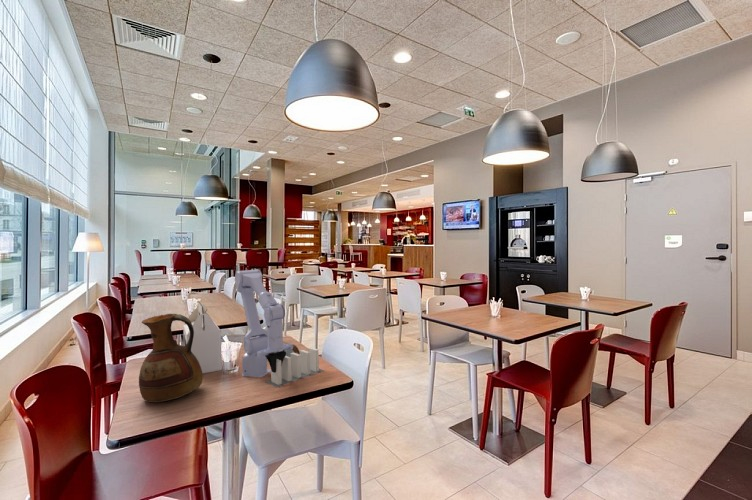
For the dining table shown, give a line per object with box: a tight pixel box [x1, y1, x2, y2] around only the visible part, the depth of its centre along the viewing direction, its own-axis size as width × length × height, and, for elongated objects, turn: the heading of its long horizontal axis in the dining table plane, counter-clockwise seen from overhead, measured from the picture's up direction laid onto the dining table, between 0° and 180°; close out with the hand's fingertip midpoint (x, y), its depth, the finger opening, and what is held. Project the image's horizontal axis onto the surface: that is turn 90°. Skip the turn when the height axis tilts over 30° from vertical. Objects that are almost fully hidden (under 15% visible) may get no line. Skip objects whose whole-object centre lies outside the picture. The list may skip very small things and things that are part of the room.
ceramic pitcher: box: [138, 313, 204, 403], centre depth 131 cm, size 20×20×30 cm
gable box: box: [182, 301, 223, 374], centre depth 163 cm, size 22×13×28 cm, turn 31°
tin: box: [283, 341, 300, 357], centre depth 167 cm, size 15×3×8 cm, turn 58°
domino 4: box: [299, 349, 310, 375], centre depth 150 cm, size 2×5×9 cm, turn 47°
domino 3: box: [290, 352, 301, 378], centre depth 147 cm, size 2×5×9 cm, turn 47°
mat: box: [265, 368, 325, 388], centre depth 147 cm, size 23×8×1 cm, turn 137°
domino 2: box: [281, 356, 292, 381], centre depth 143 cm, size 2×5×9 cm, turn 47°
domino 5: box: [307, 347, 320, 372], centre depth 153 cm, size 2×5×9 cm, turn 47°
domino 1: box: [270, 359, 282, 385], centre depth 140 cm, size 2×5×9 cm, turn 47°
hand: (276, 371), depth 140 cm, fingers closed on domino 1, 1 cm apart
